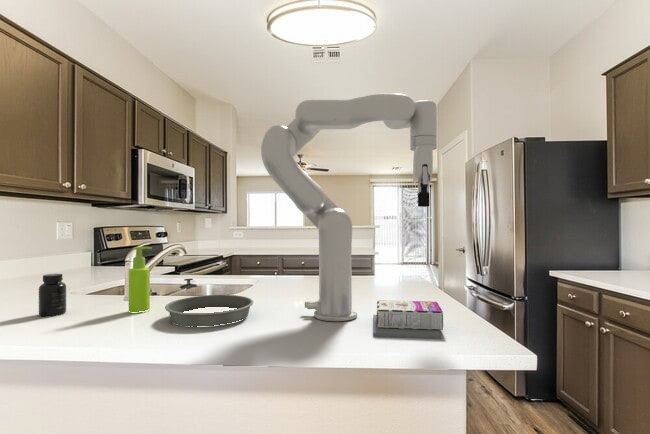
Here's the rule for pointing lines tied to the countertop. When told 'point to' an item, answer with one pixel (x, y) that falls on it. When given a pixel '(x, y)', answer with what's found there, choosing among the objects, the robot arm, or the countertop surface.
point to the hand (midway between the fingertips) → (423, 206)
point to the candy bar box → (409, 315)
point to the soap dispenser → (139, 283)
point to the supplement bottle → (52, 296)
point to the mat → (404, 332)
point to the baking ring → (209, 319)
